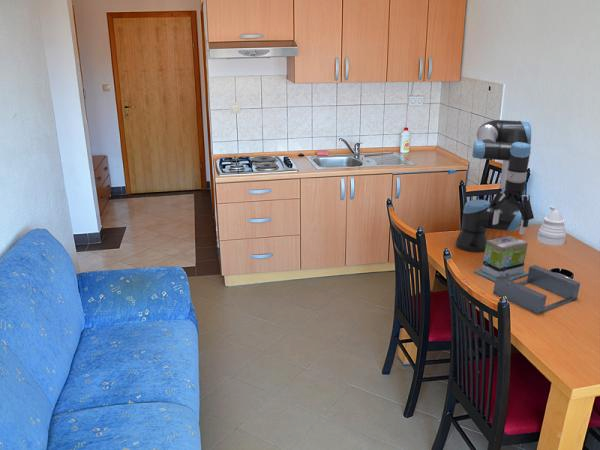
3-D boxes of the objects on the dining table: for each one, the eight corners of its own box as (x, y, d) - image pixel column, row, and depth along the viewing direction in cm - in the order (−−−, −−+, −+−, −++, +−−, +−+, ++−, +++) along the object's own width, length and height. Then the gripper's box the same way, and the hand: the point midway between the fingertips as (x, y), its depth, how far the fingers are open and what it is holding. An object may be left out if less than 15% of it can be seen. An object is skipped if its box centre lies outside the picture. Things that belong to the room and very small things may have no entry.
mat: (473, 272, 235) (474, 271, 235) (502, 263, 245) (502, 262, 244) (500, 284, 224) (500, 283, 224) (528, 275, 234) (529, 273, 233)
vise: (493, 293, 216) (495, 277, 214) (541, 276, 232) (544, 261, 230) (537, 314, 200) (541, 297, 198) (586, 295, 216) (590, 279, 214)
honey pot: (535, 242, 272) (540, 208, 266) (539, 234, 282) (545, 202, 276) (562, 247, 265) (569, 213, 259) (565, 239, 276) (572, 206, 270)
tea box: (498, 280, 226) (503, 247, 221) (480, 271, 235) (485, 239, 230) (523, 273, 233) (528, 241, 228) (504, 265, 241) (509, 234, 237)
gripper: (485, 175, 228) (479, 221, 236) (536, 189, 208) (528, 239, 216) (496, 172, 232) (490, 218, 239) (548, 186, 212) (539, 236, 219)
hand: (508, 228), depth 228 cm, fingers open, 13 cm apart
